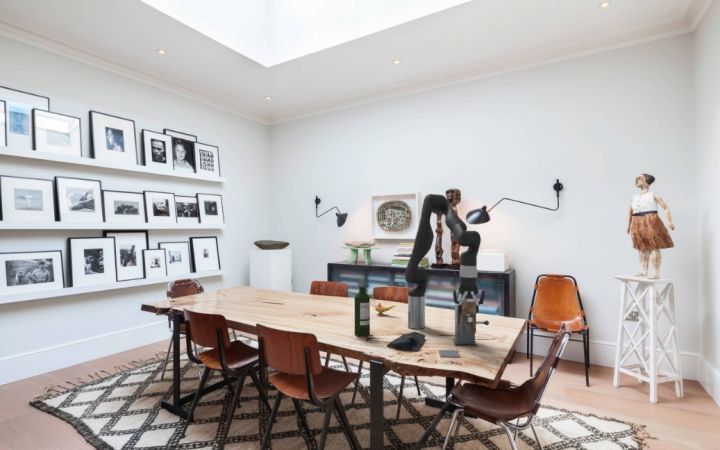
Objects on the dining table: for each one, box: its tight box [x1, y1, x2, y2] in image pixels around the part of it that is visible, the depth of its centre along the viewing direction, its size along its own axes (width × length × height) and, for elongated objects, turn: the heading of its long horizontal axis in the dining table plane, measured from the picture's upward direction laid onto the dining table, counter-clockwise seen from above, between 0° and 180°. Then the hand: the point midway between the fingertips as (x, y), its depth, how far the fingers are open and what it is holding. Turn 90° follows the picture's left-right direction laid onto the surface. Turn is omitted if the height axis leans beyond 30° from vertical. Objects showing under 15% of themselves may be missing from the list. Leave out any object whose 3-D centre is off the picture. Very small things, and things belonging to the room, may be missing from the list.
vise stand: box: [452, 304, 490, 347], centre depth 169 cm, size 16×19×17 cm
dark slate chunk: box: [386, 331, 426, 352], centre depth 175 cm, size 15×22×5 cm
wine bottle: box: [354, 275, 371, 338], centre depth 189 cm, size 8×8×30 cm
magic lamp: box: [370, 295, 396, 317], centre depth 229 cm, size 7×18×11 cm, turn 57°
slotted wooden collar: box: [461, 300, 477, 334], centre depth 164 cm, size 6×4×13 cm, turn 83°
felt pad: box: [438, 349, 461, 359], centre depth 160 cm, size 8×8×1 cm
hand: (468, 313), depth 164 cm, fingers closed on slotted wooden collar, 6 cm apart
